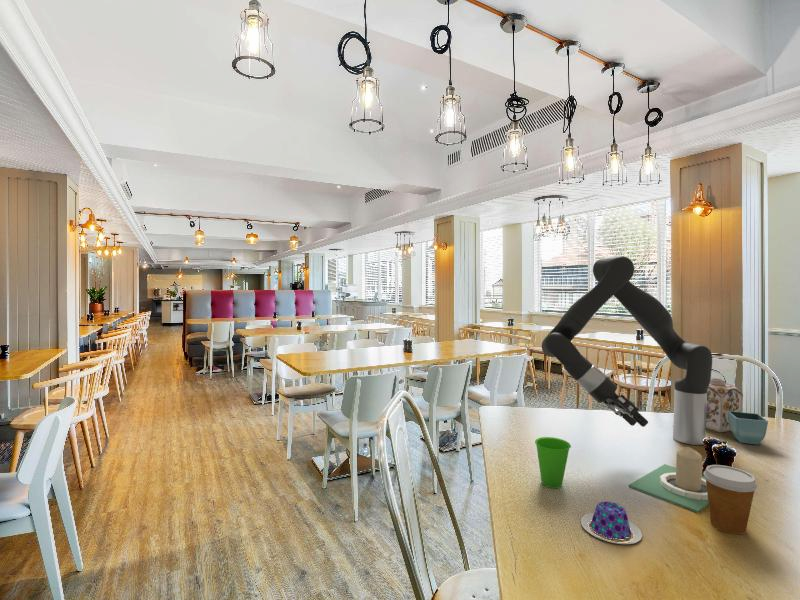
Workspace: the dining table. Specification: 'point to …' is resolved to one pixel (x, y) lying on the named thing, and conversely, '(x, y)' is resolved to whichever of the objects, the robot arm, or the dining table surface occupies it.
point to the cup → (552, 460)
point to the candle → (688, 469)
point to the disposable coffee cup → (729, 497)
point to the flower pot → (748, 427)
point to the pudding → (611, 522)
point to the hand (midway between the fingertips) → (640, 424)
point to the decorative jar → (721, 404)
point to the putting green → (672, 489)
